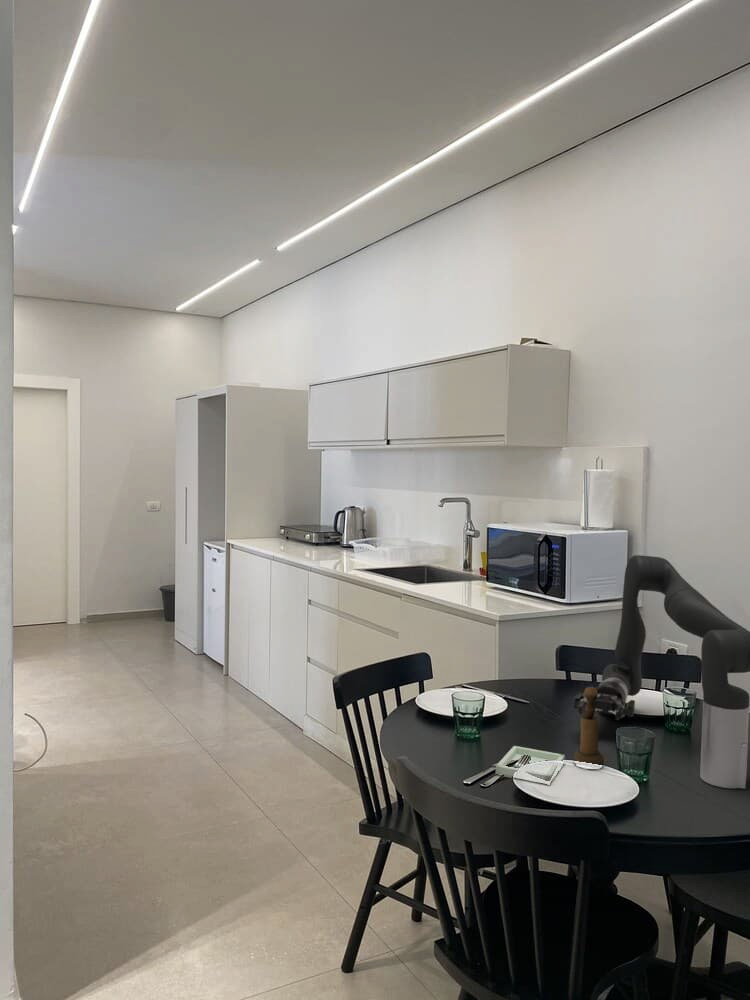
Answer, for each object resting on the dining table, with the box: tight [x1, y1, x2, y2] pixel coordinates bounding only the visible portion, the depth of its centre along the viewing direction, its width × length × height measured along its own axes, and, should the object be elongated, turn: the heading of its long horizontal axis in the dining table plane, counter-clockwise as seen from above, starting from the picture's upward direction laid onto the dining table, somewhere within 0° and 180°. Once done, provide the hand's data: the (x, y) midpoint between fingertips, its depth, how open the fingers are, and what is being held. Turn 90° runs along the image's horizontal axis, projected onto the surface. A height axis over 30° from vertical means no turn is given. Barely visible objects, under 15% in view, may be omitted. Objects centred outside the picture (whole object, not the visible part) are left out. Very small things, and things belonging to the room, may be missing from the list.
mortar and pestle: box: [573, 686, 605, 765], centre depth 184 cm, size 7×6×18 cm
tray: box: [495, 745, 566, 781], centre depth 182 cm, size 12×14×2 cm
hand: (598, 712), depth 194 cm, fingers open, 8 cm apart
